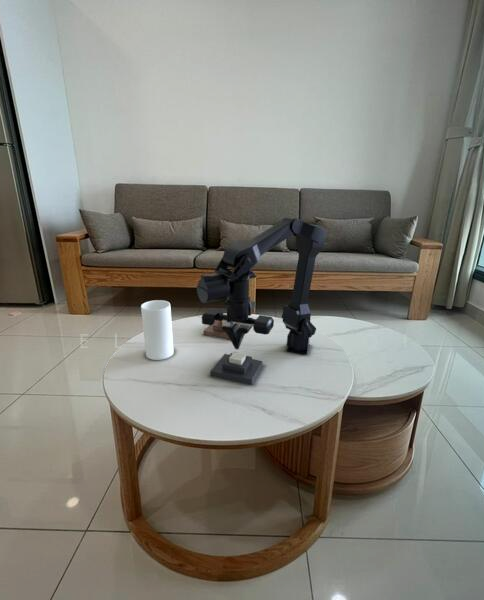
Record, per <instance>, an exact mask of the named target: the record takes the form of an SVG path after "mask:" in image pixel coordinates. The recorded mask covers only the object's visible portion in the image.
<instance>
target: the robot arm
mask: <svg viewBox="0 0 484 600" xmlns="http://www.w3.org/2000/svg"><path fill="white" fill-rule="evenodd" d="M291 236H293V237H295V246H296V249H297V252H298V256H297V257H298V259H297V263H296V271H295V276H294V282H293V287H292V295H291V300H290V302H288V304H287V305H283V307H282V314H281V317H280V318H281V319H282V323H283V325H284V326H285V329H287V330H289V332H288V334H287V337H286V347H287V348H286V351H287V352H290V353H294V354H295V353H296V354H301V355H307V354H308V352H309V350H310V348H311V347H310V346H311V344H310V339H311V338H312V336H314V335H315V334H316V331H317V327H316V326H315V325H314V324H313V323H312V322H311V316H312V313H311V310H310V307H309V298H310V292H311V287H312V280H313V275H314V269H315V264H316V258H317V256H318V255H319V254H320V253H321V251H322V250H323V249H324V245H325V242H326V239H327V231H326V229H325V228H324V227H323V226H322V225H319V224H318V225H317V224H312V223H308V222H305V221H304V220H303V221H302V220H301V219H299V218H297V217H292V216H286V217H283V218H282V219H281V221H279V222H277V223H276V224H273V226H270V227H269V228H268V229H266V230H264V231H263V232H261V233H260V234H258V235H257V236H255V237H253V238H252V239H249V240H245V241H240V242H237V243H234V244H232V245H229V246H227V247H226V248H225V249H224V251H223V255H222V257H221V259H220V261H219V262H218V264H217V266H216V267H215V268H214V273H210V274H207V273H204V274H200V279H199V280H198V282H197V285H196V293H197V296H198V300H199V301H200V302H201V304H207V303H213V302H217V301H222V300H225V301H224V306H226V313H224V310H223V309H221V308H215V307H210V308H208V309H207V310H206V311H205V312H203V313H202V315H201V324H202V325H207V326H209V325H213V324H214V323H215V320H218V321H222V322H223V326H222V327H221V329H222V330H224V331H225V332H226V334H227V335H228V337H229V338H230V339H229V340H230V342H231V344H232V346H233V347H234V349H235V350H239V349H240V347H241V345H242V342H243V340H244V337H245V335H246V334H249V332H250V330H251V329H252V330H253V331H254V332H255V333H256V334H259V335H260V334H261V335H269V334H270V332H271V331H272V329H273V328H274V325H275V324H274V322H275V320H274V318H273V316H270V315H269V316H268V315H262V314H259V315H258V316H257V318H253V317H251V316H252V314H254V313H255V308H256V307H255V306H256V301H253V300H251V297H250V279H255V278H257V274H255V272H253V270H252V269H253V268H254V267H255V266H256V265H257V264H258V263H259V261H260V259H261V257H262V256H263V255H264V254H266V253H267V252H268V251H270V250H271V249H273V248H275V247H276V246H278V245H280V244H281V243H282V242H284V241H286V240H287V239H288V238H290V237H291ZM230 269H231V270H230ZM238 324H239V326H240V327H239V328H238Z"/></svg>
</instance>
